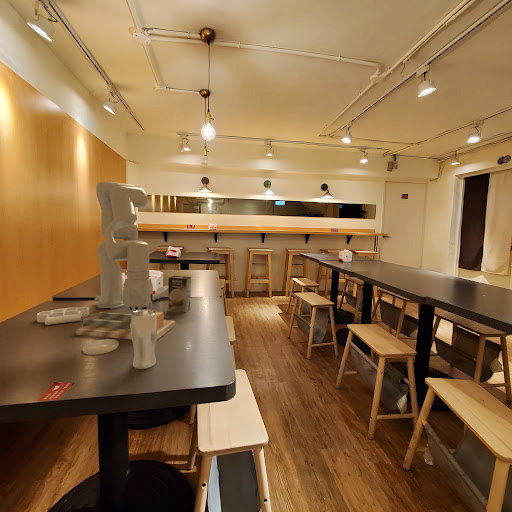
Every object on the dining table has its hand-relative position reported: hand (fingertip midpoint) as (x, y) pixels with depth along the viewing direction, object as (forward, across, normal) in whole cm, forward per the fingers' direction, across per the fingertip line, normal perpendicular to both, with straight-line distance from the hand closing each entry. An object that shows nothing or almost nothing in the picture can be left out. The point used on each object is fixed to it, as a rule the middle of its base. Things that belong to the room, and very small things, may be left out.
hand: (139, 323), depth 102 cm
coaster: (+3, -3, -16) cm, 16 cm away
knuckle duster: (+4, -37, +6) cm, 38 cm away
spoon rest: (+3, -15, +49) cm, 51 cm away
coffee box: (+3, +3, +28) cm, 28 cm away
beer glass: (+3, +16, -23) cm, 28 cm away
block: (+1, +6, 0) cm, 6 cm away
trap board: (+3, -4, 0) cm, 5 cm away
